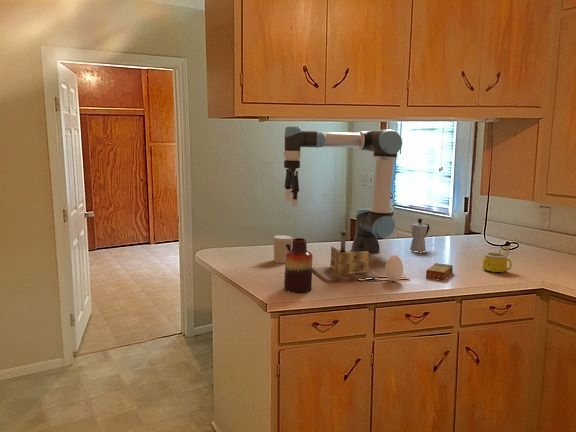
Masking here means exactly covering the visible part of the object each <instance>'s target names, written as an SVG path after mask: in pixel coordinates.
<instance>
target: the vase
mask: <svg viewBox="0 0 576 432" xmlns="http://www.w3.org/2000/svg"><path fill="white" fill-rule="evenodd" d="M313 256H314V255H313V253H312V252H310V251H309V250H308V247H307V239H306V238H304V237H295V238H294V237H293V238H292V247H291V251H288V252H287V253H286V254H285V263H284V290H285V291H286V290H287V291H286V292H288V291H290V292H289V293H292V292H294V293H293V294H306V293H309V292H311V291H312V283H313V277H312V276H313V272H312V268H313Z"/></svg>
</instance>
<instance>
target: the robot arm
mask: <svg viewBox="0 0 576 432" xmlns="http://www.w3.org/2000/svg"><path fill="white" fill-rule="evenodd" d="M402 147H403V138H402V137H401V135H400V133H399V132H397V131H396V130H394V129H373V130H364V131H361V130H360V131H358V132H341V131H340V132H339V131H338V132H333V131H332V132H331V131H318V130H317V131H315V130H310V131H308V130H307V131H306V130H305V131H304V130H302V128H301V127H300V126H286V127H285V129H284V152H283V155H284V158H283V159H284V161H283V167H284V168H285V169H286V170H285V172H286V173H285V180H284V181H285V182H284V188H285V193H284V194H285V195H284V197H285V198H284V200H285V203H287V204H288V203H291V204H290V205H291V206H290V207H292V208H293V207H298V202H299V201H298V200H299V199H298V197H299V192H300V185H299V171H298V170H296V169H300V168H301V161H300V160H301V148H317V149H318V148H345V149H346V148H348V149H349V148H350V149H351V148H352V149H353V148H354V149H358V150H359V151H368V152H372V153H373V158H374V159H375V168H374V169H375V170H374V171H375V172H374V182H373V183H374V184H373V193H372V195H373V196H372V197H373V198H372V207H371V208H359V209H357V210H356V215H355V217H356V218H355V233H354V234H355V236H354V239H353V241H352V244H351V252H362V251H369V255H373V254H378V253H381V252H380V251H381V249H380V248H381V247H380V243H379V240H378V238H380V239H386V238H388V237H390V236H392V234H393V233H394V231H395V228H396V222H395V219H393V211H392V209H391V208H390V206H391V196H392V193H391V192H392V184H393V183H392V182H393V181H392V180H393V170H394V161H395V160H396V159H397V158H398V153H399V152H400V150H401V149H402Z"/></svg>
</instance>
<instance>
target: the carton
mask: <svg viewBox="0 0 576 432" xmlns="http://www.w3.org/2000/svg"><path fill="white" fill-rule="evenodd" d="M453 269H454V266H453V265H451V264H445V263H436V262H435V263H434V264H432V266H430V267H429V268H427V269H426V271H425V272H426V273H425V279H428V278H434V279H439V280H438V281H441V280H445V279H446V278H447V277H448V276H449V275H450V274H451V273H452V274H453ZM452 274H451V275H452ZM451 275H450V276H451ZM450 276H449V277H450ZM449 277H448V278H449ZM448 278H447V279H448ZM434 279H433V280H434ZM447 279H446V280H447ZM446 280H445V281H446Z"/></svg>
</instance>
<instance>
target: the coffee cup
mask: <svg viewBox="0 0 576 432" xmlns="http://www.w3.org/2000/svg"><path fill="white" fill-rule="evenodd" d="M272 240H273V260H274V262H275V263H278V264H285V254H286V253H287V252H288V251H291V250H292V241H293V237H292V236H291V235H283V234H282V235H281V234H278V235H274V236H273V237H272Z"/></svg>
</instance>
